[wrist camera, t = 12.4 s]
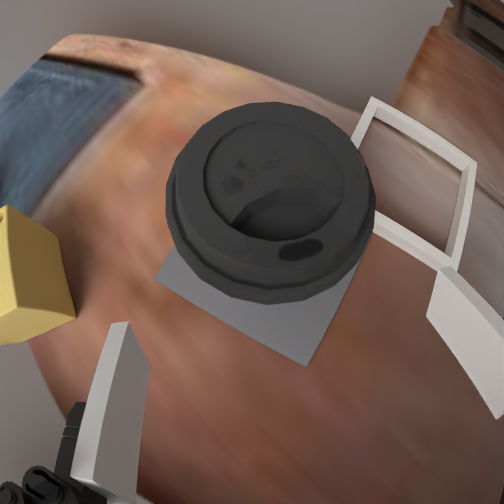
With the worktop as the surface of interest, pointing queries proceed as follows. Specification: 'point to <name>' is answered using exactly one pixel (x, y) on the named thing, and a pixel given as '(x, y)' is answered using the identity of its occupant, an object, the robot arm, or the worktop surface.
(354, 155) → the coffee cup
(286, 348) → the rubber mat
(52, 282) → the cheese
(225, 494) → the worktop surface
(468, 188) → the holder frame
